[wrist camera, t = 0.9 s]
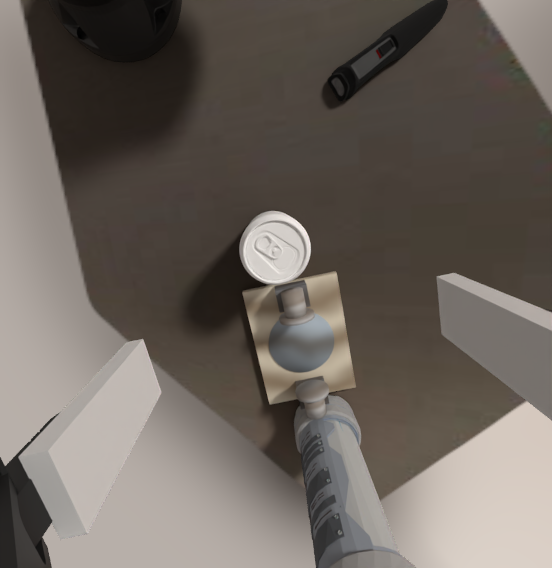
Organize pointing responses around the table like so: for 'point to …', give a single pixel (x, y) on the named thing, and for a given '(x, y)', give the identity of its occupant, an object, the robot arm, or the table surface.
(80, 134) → the table surface
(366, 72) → the electric trimmer
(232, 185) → the table surface
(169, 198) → the table surface
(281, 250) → the beverage can
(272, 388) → the cradle
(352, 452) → the canister
